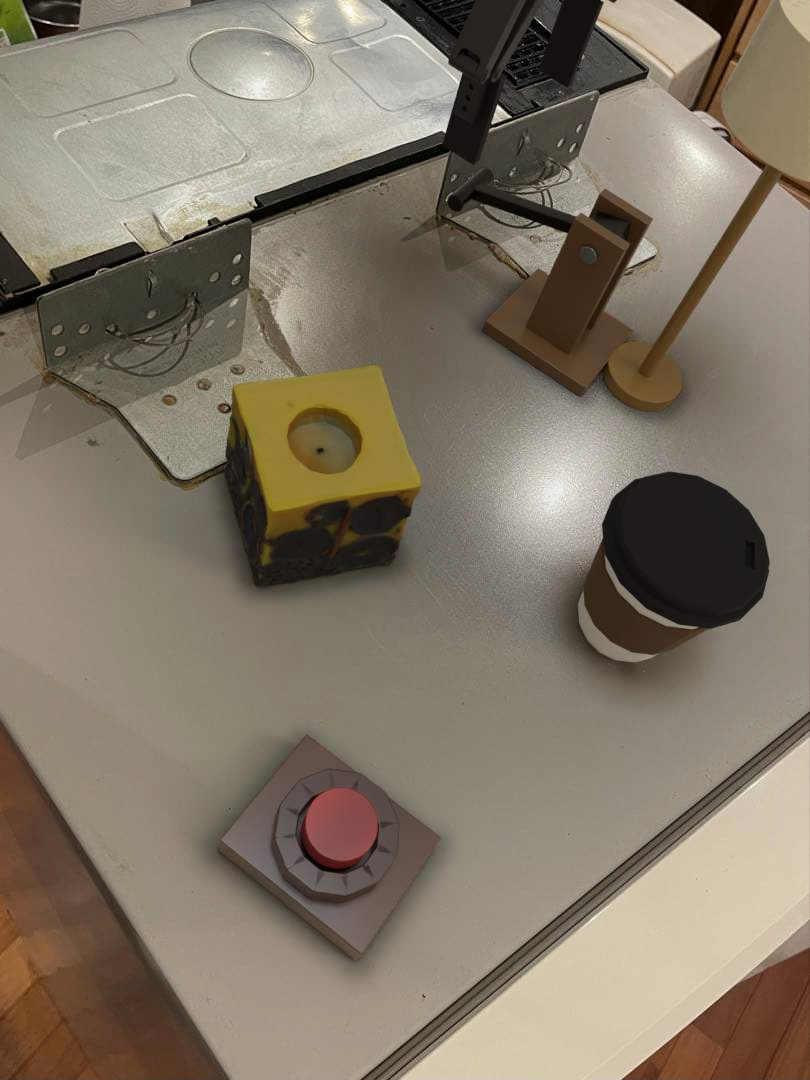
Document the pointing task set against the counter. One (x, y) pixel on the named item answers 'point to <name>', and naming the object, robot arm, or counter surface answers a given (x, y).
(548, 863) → the counter surface
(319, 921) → the switch block
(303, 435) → the candle
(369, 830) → the button
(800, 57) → the lamp
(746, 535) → the coffee cup
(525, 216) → the black t-shaped bar
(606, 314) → the lever bracket
